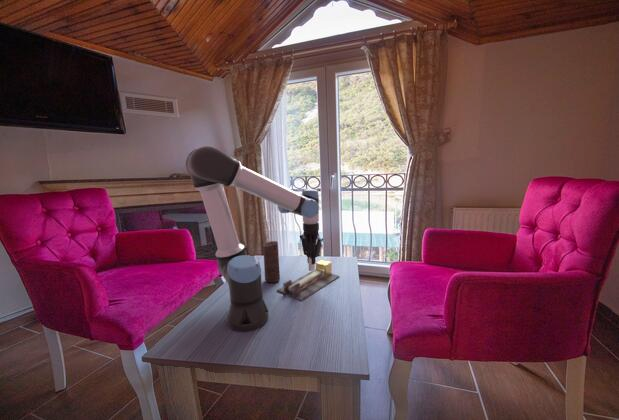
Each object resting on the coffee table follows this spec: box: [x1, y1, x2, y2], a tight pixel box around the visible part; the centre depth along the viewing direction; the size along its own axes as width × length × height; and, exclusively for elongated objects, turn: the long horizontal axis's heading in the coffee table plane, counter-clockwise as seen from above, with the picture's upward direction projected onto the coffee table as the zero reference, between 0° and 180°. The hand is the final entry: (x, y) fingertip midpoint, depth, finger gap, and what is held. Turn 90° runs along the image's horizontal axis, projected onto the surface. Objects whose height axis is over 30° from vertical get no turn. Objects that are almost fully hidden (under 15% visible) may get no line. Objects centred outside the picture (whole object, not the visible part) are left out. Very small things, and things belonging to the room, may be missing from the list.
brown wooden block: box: [262, 240, 281, 283], centre depth 130 cm, size 8×7×20 cm
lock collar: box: [315, 259, 333, 277], centre depth 135 cm, size 5×6×6 cm
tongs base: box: [276, 268, 340, 302], centre depth 127 cm, size 29×15×5 cm, turn 140°
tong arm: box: [287, 271, 321, 291], centre depth 125 cm, size 21×3×2 cm, turn 140°
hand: (311, 269), depth 128 cm, fingers closed
